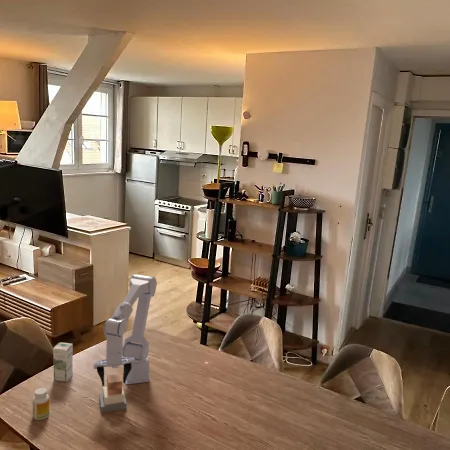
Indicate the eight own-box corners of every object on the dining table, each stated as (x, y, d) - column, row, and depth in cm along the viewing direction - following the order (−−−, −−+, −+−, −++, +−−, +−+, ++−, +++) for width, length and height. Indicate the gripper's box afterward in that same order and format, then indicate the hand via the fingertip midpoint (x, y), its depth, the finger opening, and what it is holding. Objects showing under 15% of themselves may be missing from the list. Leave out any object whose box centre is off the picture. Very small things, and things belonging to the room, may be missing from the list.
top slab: (121, 391, 163) (121, 384, 162) (124, 401, 156) (124, 394, 156) (102, 394, 160) (103, 387, 160) (105, 405, 154) (105, 397, 153)
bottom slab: (123, 396, 165) (123, 389, 164) (126, 410, 156) (126, 403, 156) (99, 399, 161) (99, 392, 161) (101, 414, 153) (101, 407, 153)
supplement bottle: (52, 413, 151) (52, 388, 149) (41, 422, 146) (41, 397, 144) (40, 409, 153) (40, 385, 151) (29, 417, 148) (28, 393, 146)
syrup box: (73, 374, 175) (73, 342, 173) (66, 382, 170) (66, 349, 167) (60, 373, 176) (59, 341, 173) (53, 381, 170) (52, 348, 167)
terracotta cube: (120, 385, 161) (120, 374, 160) (122, 393, 157) (122, 381, 156) (107, 387, 159) (107, 375, 158) (108, 395, 155) (108, 382, 154)
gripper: (94, 357, 148) (94, 392, 151) (135, 353, 153) (134, 386, 156) (93, 347, 155) (93, 381, 157) (133, 344, 160) (132, 376, 163)
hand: (113, 383), depth 157 cm, fingers open, 7 cm apart
